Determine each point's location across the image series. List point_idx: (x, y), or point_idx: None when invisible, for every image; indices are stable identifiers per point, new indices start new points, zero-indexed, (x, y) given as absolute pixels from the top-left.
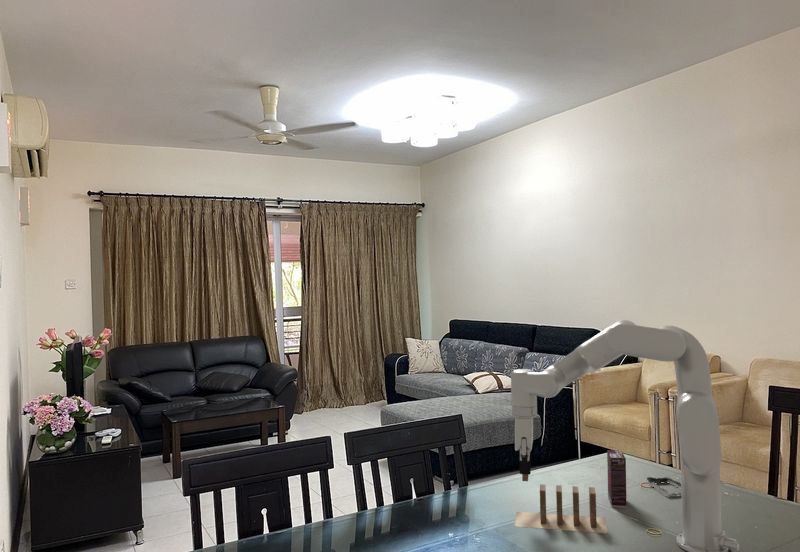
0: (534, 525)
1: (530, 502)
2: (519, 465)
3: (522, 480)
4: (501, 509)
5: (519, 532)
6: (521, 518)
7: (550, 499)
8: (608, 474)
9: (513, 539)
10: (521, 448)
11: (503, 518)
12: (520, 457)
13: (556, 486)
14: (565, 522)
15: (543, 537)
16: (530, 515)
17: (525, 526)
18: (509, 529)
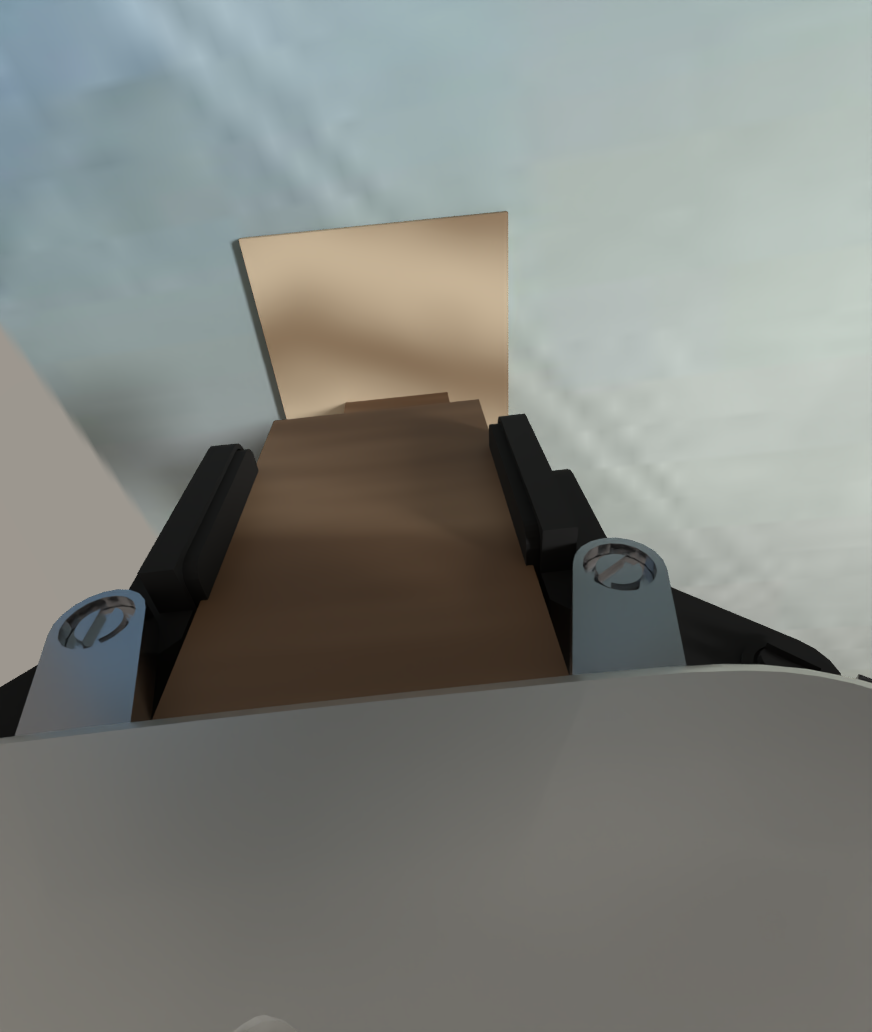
0: (308, 371)
1: (709, 286)
2: (172, 514)
3: (275, 424)
4: (560, 50)
5: (182, 285)
6: (390, 270)
7: (752, 406)
8: None
9: (52, 261)
10: (574, 665)
11: (375, 110)
12: (50, 669)
13: None
14: None
15: (189, 433)
16: (457, 325)
17: (269, 317)
18: (194, 202)
